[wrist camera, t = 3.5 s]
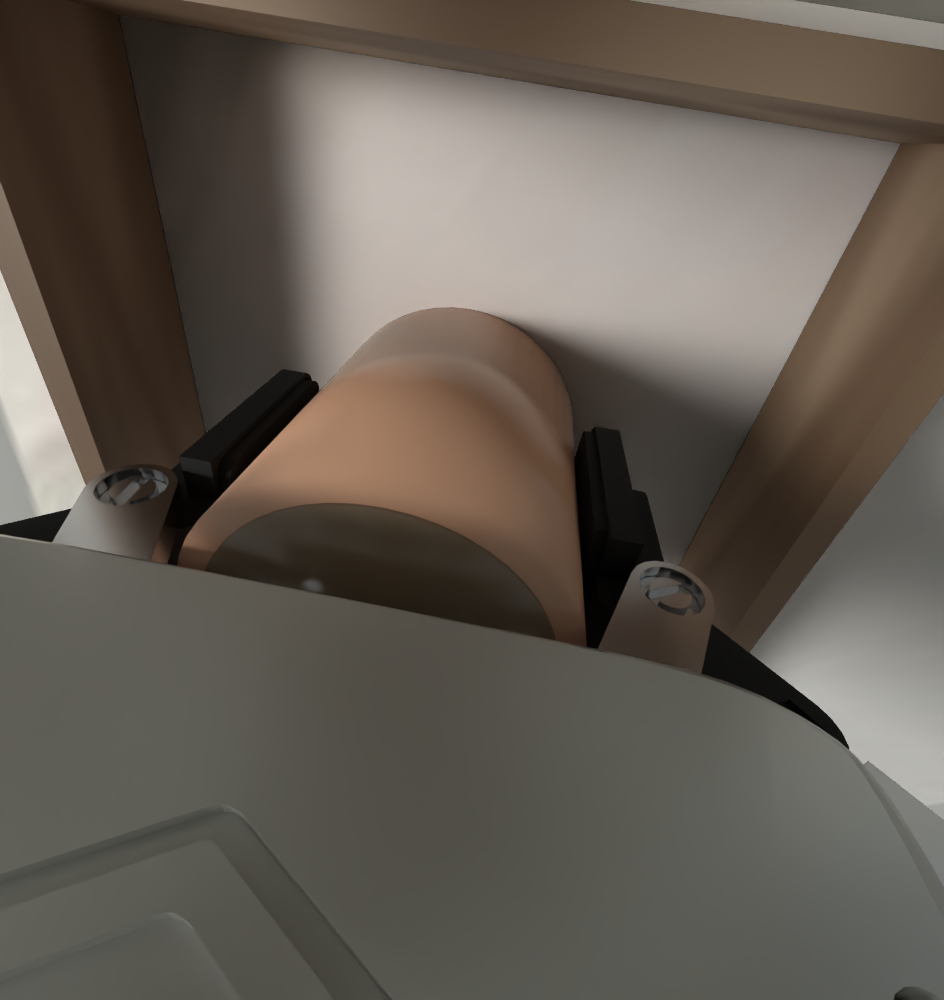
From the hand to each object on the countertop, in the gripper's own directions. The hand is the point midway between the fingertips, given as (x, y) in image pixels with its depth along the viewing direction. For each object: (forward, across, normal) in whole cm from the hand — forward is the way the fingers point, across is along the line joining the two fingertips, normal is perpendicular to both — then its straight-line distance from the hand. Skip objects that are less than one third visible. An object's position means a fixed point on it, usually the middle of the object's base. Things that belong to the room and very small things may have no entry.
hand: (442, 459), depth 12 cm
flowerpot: (+2, 0, 0) cm, 2 cm away
